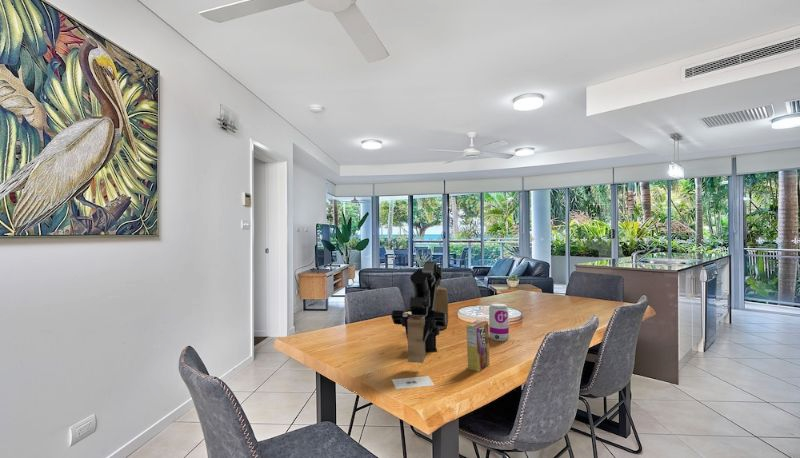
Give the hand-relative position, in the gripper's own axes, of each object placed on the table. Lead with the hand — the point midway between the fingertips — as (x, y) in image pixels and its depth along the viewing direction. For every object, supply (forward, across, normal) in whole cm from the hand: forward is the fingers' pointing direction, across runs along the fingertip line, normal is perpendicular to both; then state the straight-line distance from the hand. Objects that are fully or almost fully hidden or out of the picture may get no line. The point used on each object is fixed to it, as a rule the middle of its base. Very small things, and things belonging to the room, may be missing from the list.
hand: (415, 340), depth 115 cm
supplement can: (-24, +29, +41) cm, 55 cm away
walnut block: (+4, 0, +6) cm, 7 cm away
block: (-34, 0, +51) cm, 61 cm away
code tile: (+13, 0, +2) cm, 14 cm away
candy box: (+1, +20, +15) cm, 25 cm away
